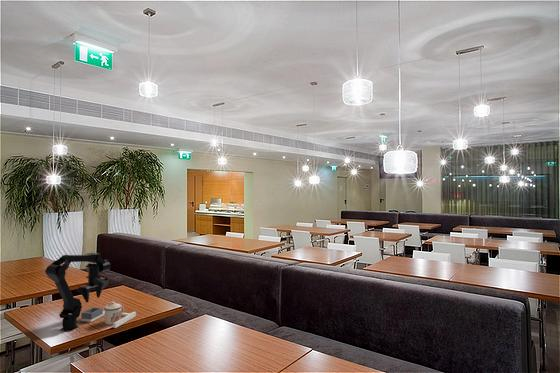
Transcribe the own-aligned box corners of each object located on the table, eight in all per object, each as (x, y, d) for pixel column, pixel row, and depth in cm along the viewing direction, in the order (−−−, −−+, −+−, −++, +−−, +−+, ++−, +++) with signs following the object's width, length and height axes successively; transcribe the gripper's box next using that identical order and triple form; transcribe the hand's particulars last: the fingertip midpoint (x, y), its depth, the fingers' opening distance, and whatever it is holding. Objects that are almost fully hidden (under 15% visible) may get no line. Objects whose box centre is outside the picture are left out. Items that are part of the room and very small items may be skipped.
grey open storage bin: (115, 328, 185) (115, 319, 185) (75, 323, 190) (75, 315, 190) (135, 315, 202) (135, 308, 203) (98, 312, 208) (98, 304, 208)
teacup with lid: (111, 326, 188) (111, 305, 188) (100, 323, 192) (100, 303, 192) (128, 318, 199) (129, 299, 199) (118, 316, 203) (118, 297, 203)
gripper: (94, 278, 189) (93, 306, 188) (115, 271, 207) (115, 296, 207) (77, 277, 190) (76, 304, 190) (99, 270, 209) (99, 295, 208)
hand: (92, 300), depth 199 cm, fingers open, 9 cm apart
